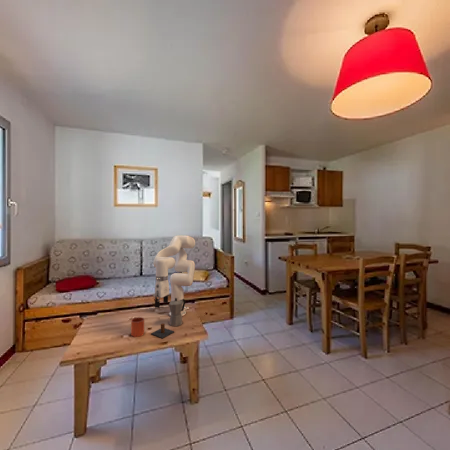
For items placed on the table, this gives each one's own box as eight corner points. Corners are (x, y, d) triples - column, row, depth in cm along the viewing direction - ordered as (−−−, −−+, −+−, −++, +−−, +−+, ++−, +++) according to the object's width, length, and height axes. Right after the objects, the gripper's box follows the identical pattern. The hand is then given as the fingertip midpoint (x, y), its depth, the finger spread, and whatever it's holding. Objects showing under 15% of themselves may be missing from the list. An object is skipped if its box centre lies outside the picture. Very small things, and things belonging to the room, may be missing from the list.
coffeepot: (173, 329, 162) (173, 302, 161) (164, 325, 167) (164, 299, 167) (189, 321, 174) (189, 296, 174) (180, 318, 180) (180, 293, 179)
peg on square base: (162, 328, 162) (162, 319, 162) (174, 332, 157) (174, 323, 157) (151, 334, 154) (151, 325, 154) (162, 338, 148) (162, 329, 148)
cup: (141, 329, 160) (141, 316, 160) (146, 334, 154) (146, 319, 154) (129, 333, 155) (129, 319, 155) (134, 338, 149) (134, 323, 149)
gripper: (159, 281, 146) (159, 310, 146) (173, 276, 163) (173, 301, 163) (148, 280, 148) (148, 308, 148) (164, 275, 165) (163, 300, 165)
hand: (161, 305), depth 155 cm, fingers open, 9 cm apart
